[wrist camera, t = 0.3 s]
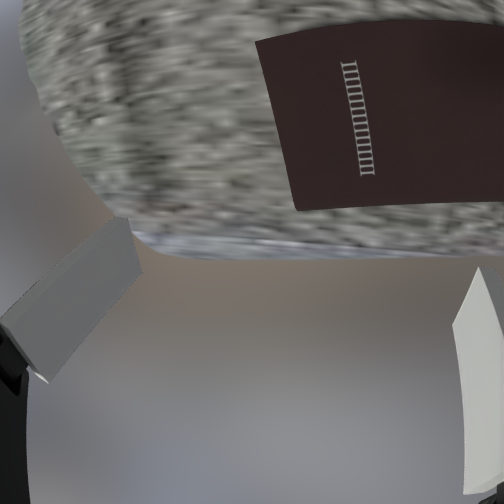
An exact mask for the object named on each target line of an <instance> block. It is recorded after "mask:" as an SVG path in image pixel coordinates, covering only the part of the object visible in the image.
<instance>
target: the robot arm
mask: <svg viewBox="0 0 504 504" xmlns="http://www.w3.org/2000/svg"><path fill="white" fill-rule="evenodd" d="M141 274H142V270H141V266H140V263H139V259H138V255H137V252H136V248H135V244H134V241H133V237H132V233H131V229H130V225H129V221H128V218H121V217H113V218H112V219H111V220H109V221H108V222H107V223H106V224H104V225H103V226H102V227H101V228H100V229H98V230H97V231H96V232H95V233H93V234H92V235H91V236H89V237H88V238H87V239H86V240H85V241H83V242H82V243H81V244H80V245H79V246H78V247H76V248H75V249H74V250H73V251H72V252H70V253H69V254H68V255H67V256H66V257H65V258H64V259H62V260H61V261H60V262H59V263H58V264H57V265H56V266H54V267H53V268H52V269H51V270H50V271H49V272H48V273H47V274H46V275H45V276H44V277H42V278H41V280H39V281H38V282H36V283H35V284H34V285H33V286H32V287H31V288H30V290H28V291H27V292H26V293H25V294H24V295H23V296H22V297H21V298H20V299H19V300H18V301H17V302H16V303H15V304H14V305H13V306H12V307H11V308H10V309H9V310H8V311H7V312H6V313H5V314H4V315H3V316H2V317H1V318H0V504H30V496H29V486H28V473H27V455H26V453H27V452H26V418H27V396H28V383H29V373H28V371H27V369H26V368H27V367H28V365H29V366H30V367H31V369H32V370H33V371H34V373H35V374H36V375H37V376H38V377H40V378H41V379H43V380H44V381H46V382H47V383H50V382H51V381H52V379H53V378H54V377H55V375H56V374H57V373H58V372H59V370H60V369H61V368H62V367H63V365H64V364H65V363H66V362H67V360H68V359H69V358H70V357H71V355H72V354H73V353H74V352H75V350H76V349H77V348H78V347H79V345H80V344H81V343H82V342H83V341H84V339H85V338H86V337H87V336H88V335H89V333H90V332H91V331H92V330H93V329H94V327H95V326H96V325H97V324H98V323H99V321H100V320H101V319H102V318H103V317H104V316H105V314H106V313H107V312H108V311H109V309H111V308H112V306H113V305H114V304H115V303H116V302H117V300H118V299H119V298H120V297H121V296H122V295H123V294H124V293H125V292H126V290H127V289H128V288H129V287H130V286H131V285H132V284H133V283H134V281H135V280H136V279H137V278H138V277H139V276H140V275H141ZM452 326H453V331H454V337H455V343H456V349H457V355H458V363H459V371H460V379H461V388H462V399H463V412H464V431H465V432H464V433H465V472H464V492H463V495H466V494H475V493H483V492H486V491H488V490H490V489H491V488H493V487H495V486H497V493H496V494H494V495H492V496H490V497H488V498H486V499H484V500H482V501H481V502H479V504H504V286H503V284H502V282H501V280H500V277H499V275H498V273H497V271H496V269H491V268H485V267H478V269H477V271H476V274H475V276H474V279H473V281H472V283H471V286H470V288H469V290H468V293H467V295H466V297H465V299H464V302H463V304H462V306H461V308H460V310H459V312H458V314H457V317H456V319H455V321H454V323H453V325H452Z"/></svg>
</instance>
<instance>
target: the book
mask: <svg viewBox="0 0 504 504" xmlns="http://www.w3.org/2000/svg"><path fill="white" fill-rule="evenodd" d="M255 45H256V48H257V52H258V56H259V59H260V63H261V67H262V70H263V74H264V78H265V82H266V86H267V90H268V94H269V97H270V101H271V105H272V109H273V114H274V118H275V122H276V126H277V130H278V134H279V139H280V143H281V147H282V152H283V156H284V160H285V165H286V169H287V174H288V179H289V183H290V188H291V193H292V197H293V202H294V205H295V208H296V210H297V211H306V210H320V209H334V208H349V207H365V206H383V205H403V204H426V203H455V202H503V201H504V27H503V26H497V25H489V24H481V23H472V22H460V21H443V20H394V21H376V22H364V23H354V24H345V25H337V26H330V27H323V28H317V29H311V30H305V31H300V32H295V33H290V34H285V35H280V36H276V37H271V38H267V39H263V40H259V41H255Z"/></svg>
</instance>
